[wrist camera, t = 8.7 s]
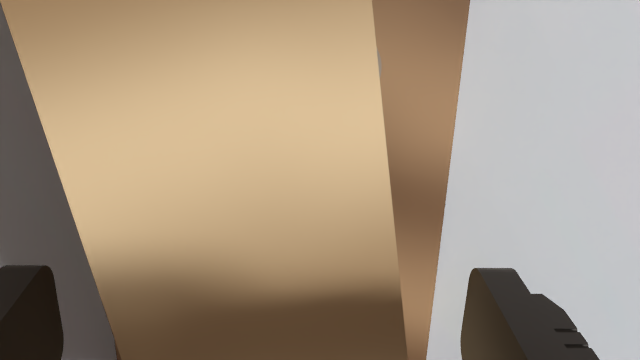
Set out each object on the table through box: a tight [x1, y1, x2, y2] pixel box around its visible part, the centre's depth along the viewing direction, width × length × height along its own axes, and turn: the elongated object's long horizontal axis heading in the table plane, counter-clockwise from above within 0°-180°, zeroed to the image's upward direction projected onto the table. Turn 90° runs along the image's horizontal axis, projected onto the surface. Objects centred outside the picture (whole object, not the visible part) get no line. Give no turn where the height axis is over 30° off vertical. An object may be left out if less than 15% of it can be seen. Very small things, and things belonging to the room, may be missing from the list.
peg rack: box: [115, 0, 470, 360], centre depth 13 cm, size 20×10×10 cm, turn 178°
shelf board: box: [0, 0, 408, 360], centre depth 12 cm, size 14×5×4 cm, turn 8°
